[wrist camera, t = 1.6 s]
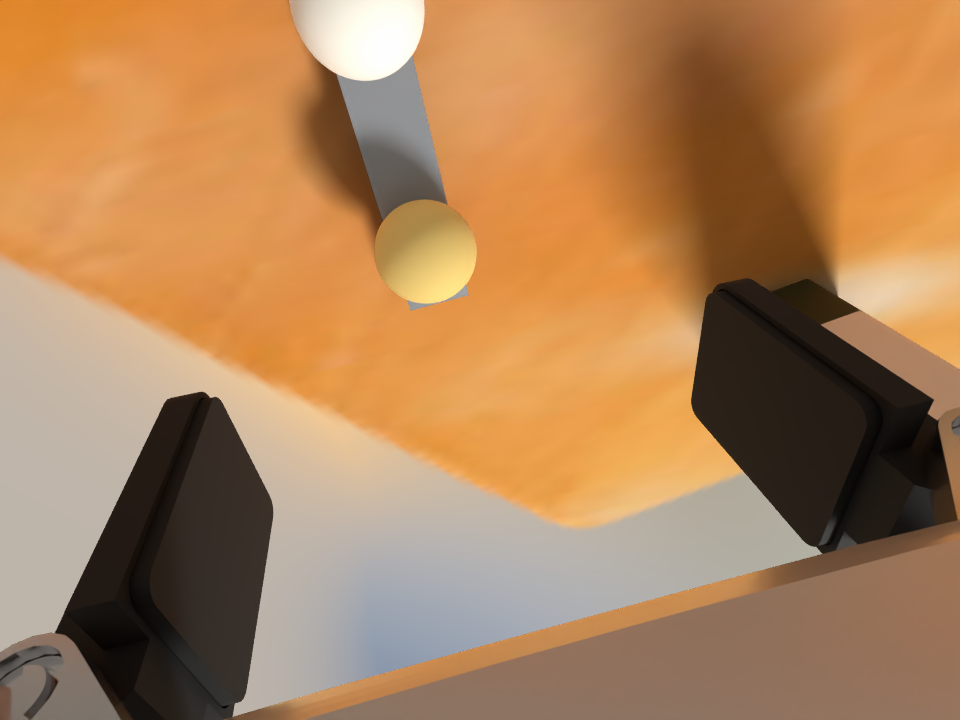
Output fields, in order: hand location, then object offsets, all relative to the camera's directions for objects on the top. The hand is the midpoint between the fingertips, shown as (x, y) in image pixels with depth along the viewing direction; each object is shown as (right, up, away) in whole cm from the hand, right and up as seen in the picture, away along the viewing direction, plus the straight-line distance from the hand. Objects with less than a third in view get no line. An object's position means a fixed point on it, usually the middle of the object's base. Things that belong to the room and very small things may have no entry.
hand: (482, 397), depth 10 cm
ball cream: (-5, +14, +9) cm, 17 cm away
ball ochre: (-3, +7, +14) cm, 16 cm away
